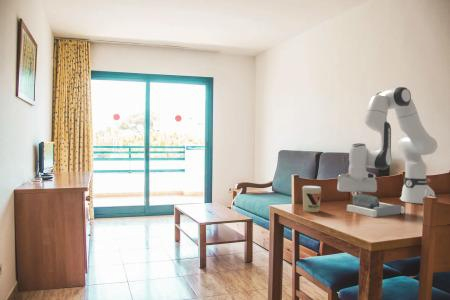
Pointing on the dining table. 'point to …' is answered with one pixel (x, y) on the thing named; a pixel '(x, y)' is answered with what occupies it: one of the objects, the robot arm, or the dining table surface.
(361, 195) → the grey-green rounded block
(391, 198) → the dining table surface
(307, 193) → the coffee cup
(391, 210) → the notched board
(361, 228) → the dining table surface
